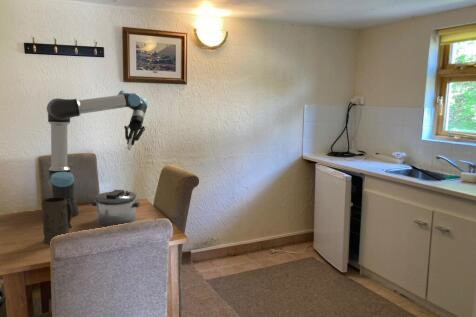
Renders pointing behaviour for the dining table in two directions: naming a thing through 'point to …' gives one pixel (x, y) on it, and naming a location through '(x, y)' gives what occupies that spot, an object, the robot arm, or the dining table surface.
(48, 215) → the beer stein
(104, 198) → the cooker lid
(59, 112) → the robot arm
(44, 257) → the dining table surface
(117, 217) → the cooker pot
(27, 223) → the dining table surface
